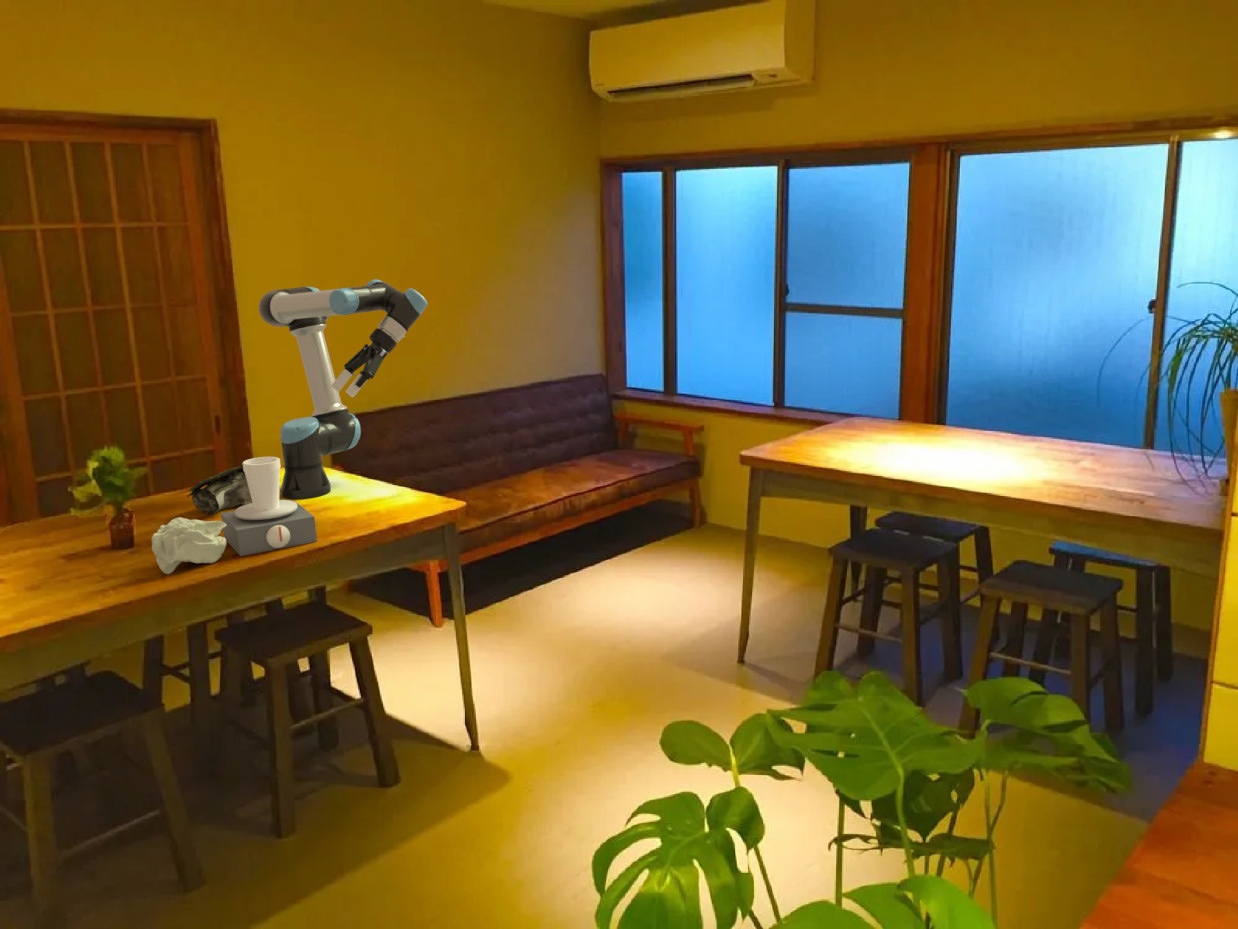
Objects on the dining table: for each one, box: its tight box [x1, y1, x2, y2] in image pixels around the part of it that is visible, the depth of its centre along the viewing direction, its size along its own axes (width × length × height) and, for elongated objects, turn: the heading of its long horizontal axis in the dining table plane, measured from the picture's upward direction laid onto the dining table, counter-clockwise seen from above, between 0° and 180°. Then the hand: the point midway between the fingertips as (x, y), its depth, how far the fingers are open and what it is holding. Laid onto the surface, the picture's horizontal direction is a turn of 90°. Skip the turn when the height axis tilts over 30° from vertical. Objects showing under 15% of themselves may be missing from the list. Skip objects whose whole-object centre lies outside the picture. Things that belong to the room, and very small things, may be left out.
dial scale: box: [220, 499, 318, 557], centre depth 279 cm, size 21×20×9 cm
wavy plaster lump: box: [151, 516, 228, 575], centre depth 259 cm, size 18×13×16 cm
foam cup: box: [242, 456, 282, 511], centre depth 277 cm, size 10×9×13 cm
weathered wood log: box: [186, 464, 253, 516], centre depth 313 cm, size 28×13×15 cm
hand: (341, 392), depth 298 cm, fingers open, 13 cm apart
